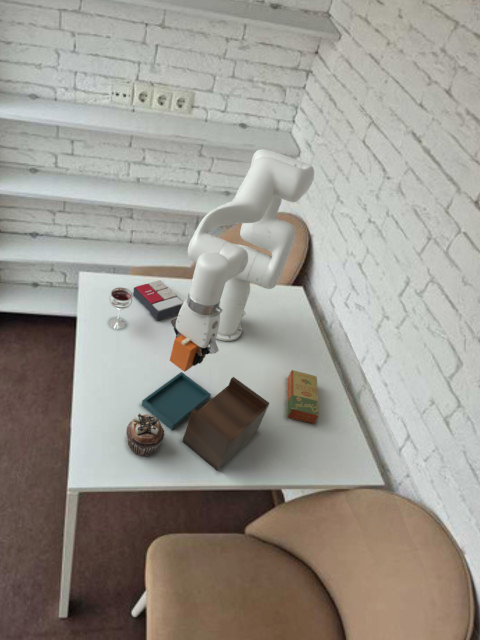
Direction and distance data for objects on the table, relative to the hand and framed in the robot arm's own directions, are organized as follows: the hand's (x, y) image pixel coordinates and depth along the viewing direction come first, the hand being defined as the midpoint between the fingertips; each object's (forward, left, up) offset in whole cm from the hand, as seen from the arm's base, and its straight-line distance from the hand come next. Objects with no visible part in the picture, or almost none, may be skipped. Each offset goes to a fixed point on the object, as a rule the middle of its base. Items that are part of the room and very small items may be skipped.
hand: (188, 356), depth 138 cm
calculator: (-28, -33, -19) cm, 47 cm away
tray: (0, 0, -18) cm, 18 cm away
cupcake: (+17, +3, -19) cm, 25 cm away
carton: (-29, +24, -19) cm, 42 cm away
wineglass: (-10, -34, -19) cm, 40 cm away
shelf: (0, +16, -18) cm, 24 cm away
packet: (0, 0, -1) cm, 1 cm away
